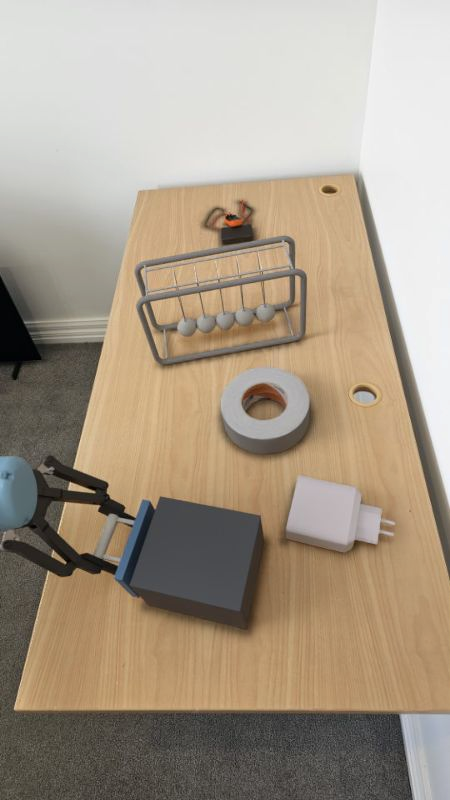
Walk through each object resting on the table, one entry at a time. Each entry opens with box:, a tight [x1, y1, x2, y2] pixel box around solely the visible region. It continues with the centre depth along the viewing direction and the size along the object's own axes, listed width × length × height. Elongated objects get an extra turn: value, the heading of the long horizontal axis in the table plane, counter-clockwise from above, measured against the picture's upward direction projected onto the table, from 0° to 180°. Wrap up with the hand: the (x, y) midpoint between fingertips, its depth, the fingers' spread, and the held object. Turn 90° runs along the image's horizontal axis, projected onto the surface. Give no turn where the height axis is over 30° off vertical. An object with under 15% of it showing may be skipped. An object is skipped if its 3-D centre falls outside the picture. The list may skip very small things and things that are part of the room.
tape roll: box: [219, 366, 311, 455], centre depth 87 cm, size 15×15×5 cm
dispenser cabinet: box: [130, 496, 266, 631], centre depth 70 cm, size 15×13×11 cm
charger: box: [285, 474, 396, 554], centre depth 74 cm, size 5×9×15 cm
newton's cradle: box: [134, 235, 308, 366], centre depth 94 cm, size 30×10×18 cm, turn 98°
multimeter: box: [204, 197, 254, 245], centre depth 122 cm, size 18×12×3 cm, turn 178°
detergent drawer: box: [92, 499, 156, 599], centre depth 71 cm, size 18×11×9 cm, turn 76°
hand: (130, 548), depth 73 cm, fingers closed on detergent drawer, 7 cm apart
